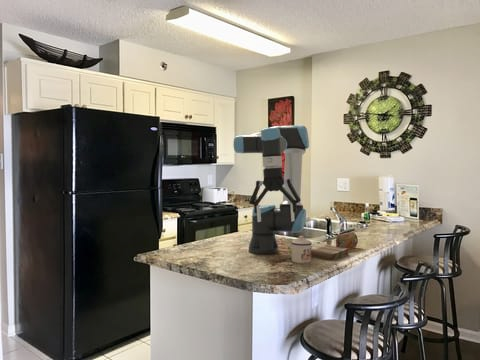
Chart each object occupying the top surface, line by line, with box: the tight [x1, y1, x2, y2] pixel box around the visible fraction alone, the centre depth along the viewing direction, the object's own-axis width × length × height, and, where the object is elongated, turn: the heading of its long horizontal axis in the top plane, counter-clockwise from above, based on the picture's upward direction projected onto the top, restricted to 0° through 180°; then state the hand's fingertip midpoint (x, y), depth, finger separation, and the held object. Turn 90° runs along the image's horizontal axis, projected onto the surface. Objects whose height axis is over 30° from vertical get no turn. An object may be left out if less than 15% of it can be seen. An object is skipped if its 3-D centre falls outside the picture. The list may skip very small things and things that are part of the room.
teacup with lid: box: [291, 235, 313, 264], centre depth 178 cm, size 12×9×12 cm
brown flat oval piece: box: [335, 232, 359, 251], centre depth 203 cm, size 15×3×8 cm, turn 126°
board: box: [311, 244, 349, 261], centre depth 188 cm, size 16×12×3 cm
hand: (276, 221), depth 153 cm, fingers open, 13 cm apart
